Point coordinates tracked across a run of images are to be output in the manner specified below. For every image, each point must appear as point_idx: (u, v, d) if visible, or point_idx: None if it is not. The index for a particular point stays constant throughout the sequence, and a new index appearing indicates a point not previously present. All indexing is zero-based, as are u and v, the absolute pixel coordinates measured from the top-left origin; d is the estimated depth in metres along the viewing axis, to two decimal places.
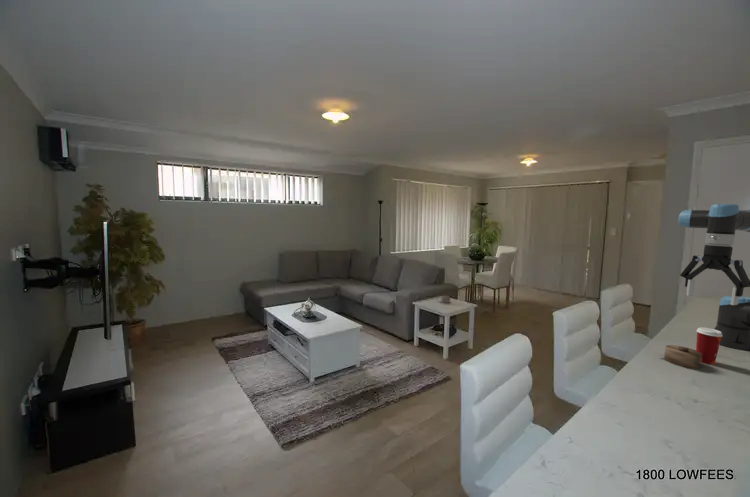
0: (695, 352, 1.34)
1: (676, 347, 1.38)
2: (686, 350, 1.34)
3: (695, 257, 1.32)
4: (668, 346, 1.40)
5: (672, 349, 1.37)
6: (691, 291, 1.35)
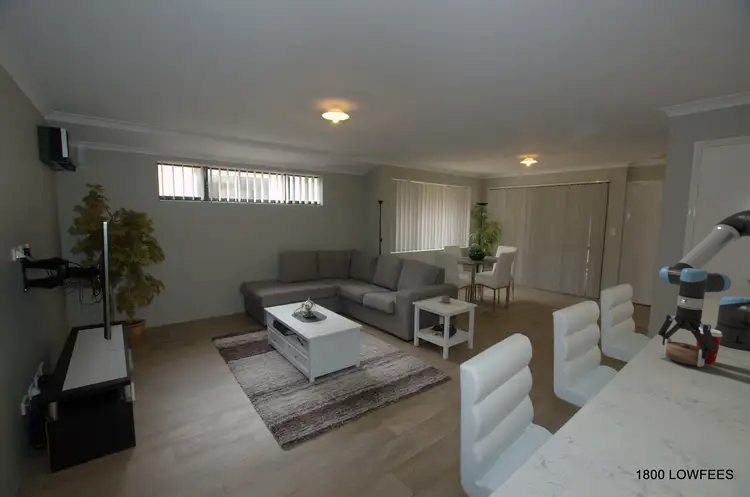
0: (696, 348, 1.34)
1: (678, 344, 1.38)
2: (687, 346, 1.34)
3: (668, 317, 1.40)
4: (669, 343, 1.39)
5: (673, 345, 1.37)
6: None
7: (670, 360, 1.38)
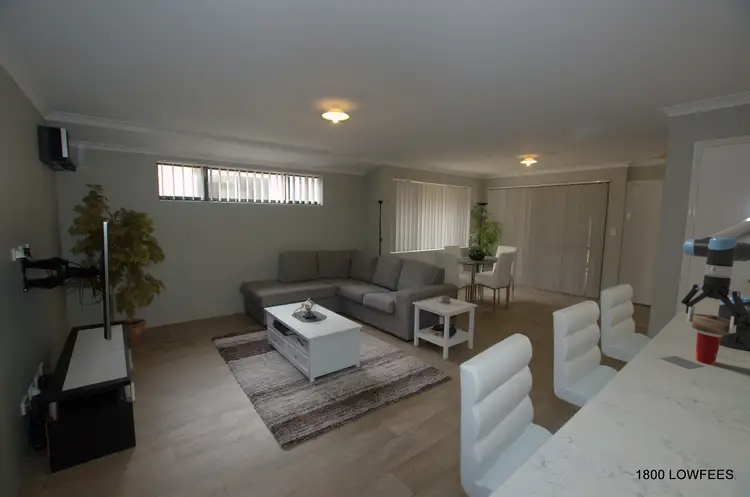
0: (724, 319, 1.34)
1: (705, 316, 1.38)
2: (715, 317, 1.34)
3: (695, 286, 1.40)
4: (696, 315, 1.40)
5: (700, 317, 1.37)
6: (691, 317, 1.42)
7: (670, 360, 1.38)
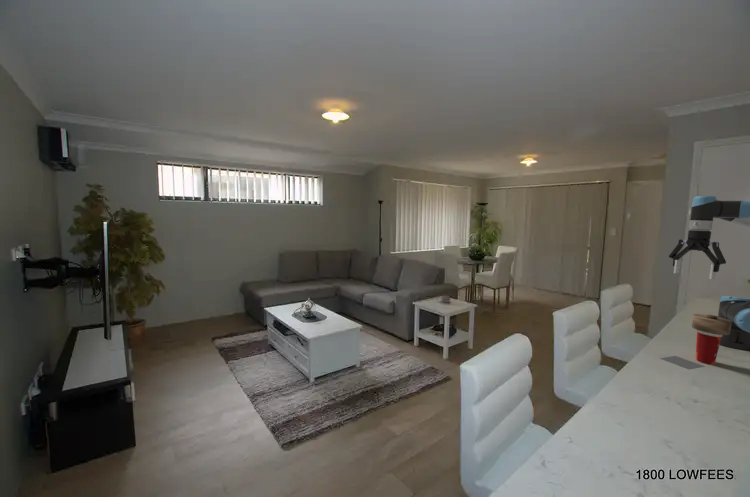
0: (724, 319, 1.34)
1: (704, 316, 1.38)
2: (715, 317, 1.34)
3: (681, 241, 1.58)
4: (696, 315, 1.40)
5: (700, 317, 1.37)
6: (678, 269, 1.60)
7: (670, 360, 1.38)
